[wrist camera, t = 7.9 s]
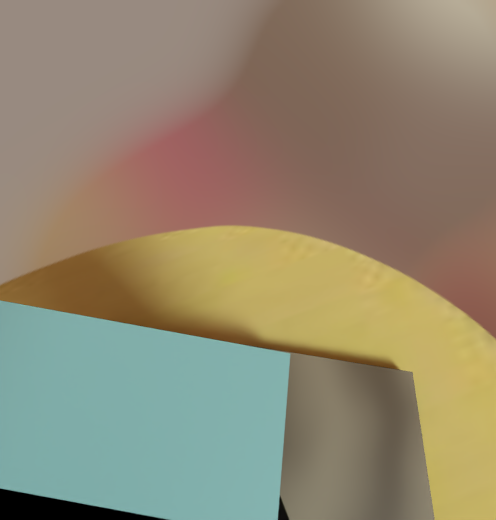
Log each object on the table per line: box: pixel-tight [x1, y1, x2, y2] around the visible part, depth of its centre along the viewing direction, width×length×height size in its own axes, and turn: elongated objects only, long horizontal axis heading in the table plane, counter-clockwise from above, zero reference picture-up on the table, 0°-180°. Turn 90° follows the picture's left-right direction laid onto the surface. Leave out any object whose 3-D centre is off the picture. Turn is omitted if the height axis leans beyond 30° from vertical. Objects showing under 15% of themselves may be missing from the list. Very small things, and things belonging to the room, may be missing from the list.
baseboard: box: [241, 344, 434, 520], centre depth 14 cm, size 21×14×2 cm, turn 82°
